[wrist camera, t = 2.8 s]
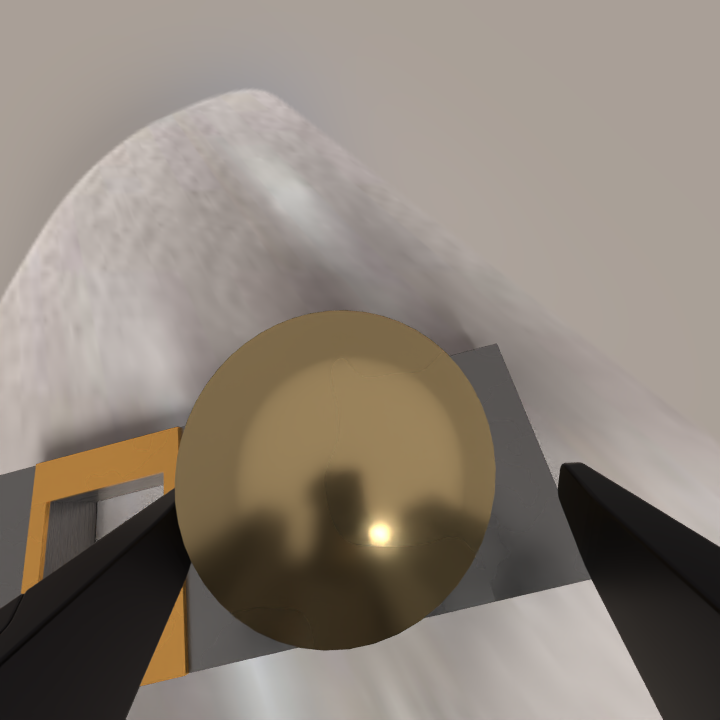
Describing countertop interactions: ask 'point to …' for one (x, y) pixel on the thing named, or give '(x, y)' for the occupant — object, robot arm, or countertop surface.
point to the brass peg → (335, 480)
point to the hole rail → (195, 602)
